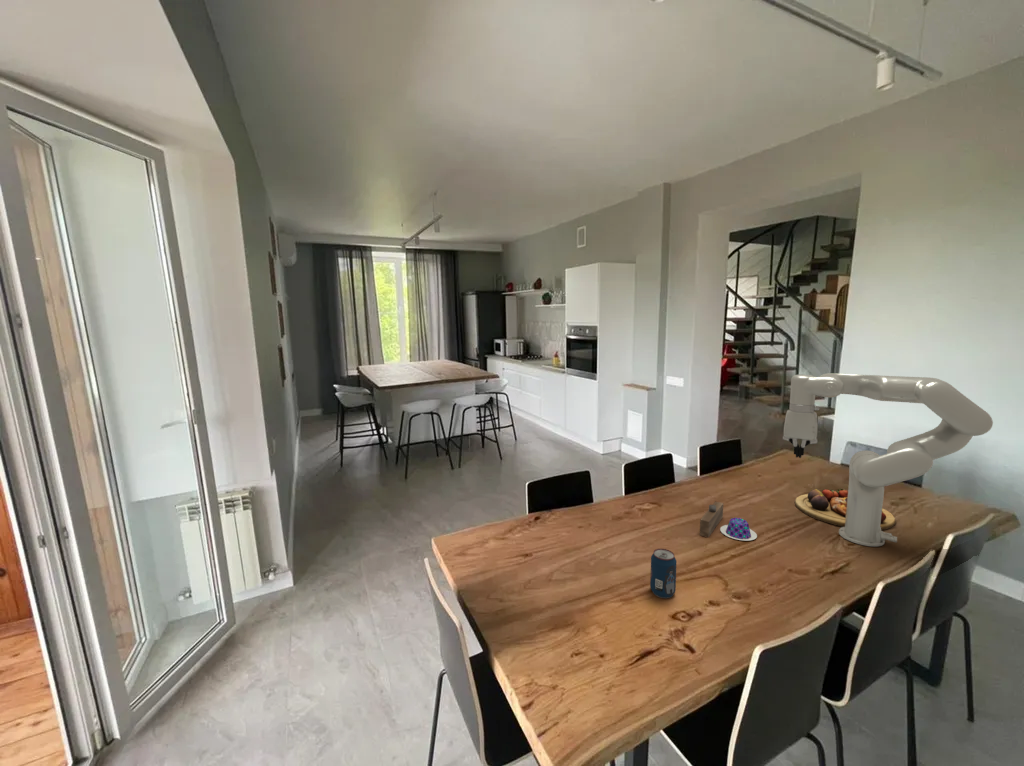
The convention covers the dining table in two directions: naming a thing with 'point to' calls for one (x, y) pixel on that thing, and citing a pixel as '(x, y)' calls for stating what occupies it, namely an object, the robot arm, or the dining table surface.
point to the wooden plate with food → (833, 507)
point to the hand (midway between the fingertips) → (798, 456)
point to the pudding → (738, 530)
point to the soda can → (663, 573)
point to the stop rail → (711, 519)
